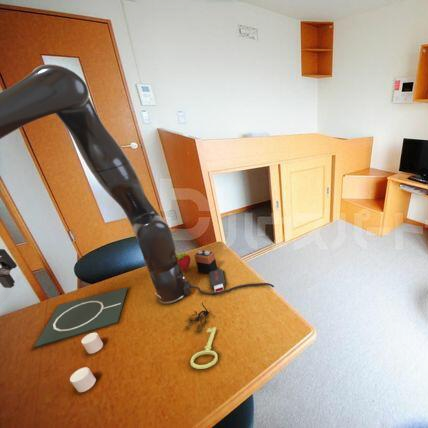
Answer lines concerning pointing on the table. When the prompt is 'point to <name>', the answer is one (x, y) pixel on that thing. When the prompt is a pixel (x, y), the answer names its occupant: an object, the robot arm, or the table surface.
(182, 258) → the strawberry
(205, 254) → the battery
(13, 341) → the table surface
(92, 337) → the eye puck
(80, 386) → the eye puck
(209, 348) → the key
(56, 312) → the chalkboard
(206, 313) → the creature
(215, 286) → the usb drive
